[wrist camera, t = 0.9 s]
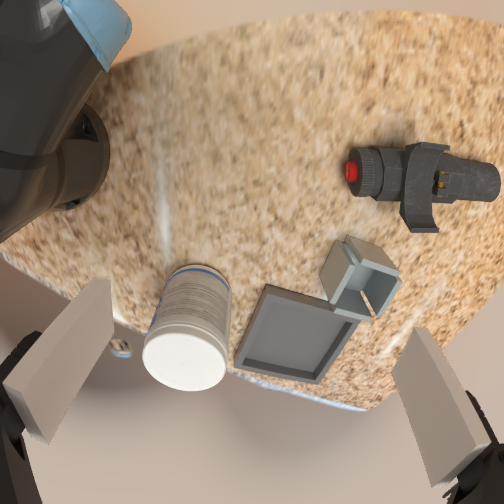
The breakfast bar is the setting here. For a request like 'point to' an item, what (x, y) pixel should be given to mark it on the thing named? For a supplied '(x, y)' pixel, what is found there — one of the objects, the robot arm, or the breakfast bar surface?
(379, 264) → the cup
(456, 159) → the laser sight
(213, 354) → the supplement tub
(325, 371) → the tray
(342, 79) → the breakfast bar surface
